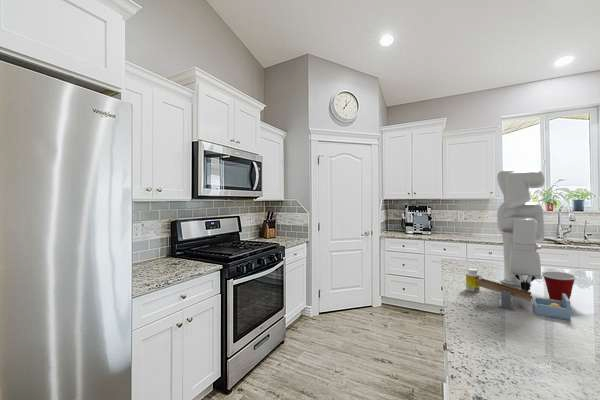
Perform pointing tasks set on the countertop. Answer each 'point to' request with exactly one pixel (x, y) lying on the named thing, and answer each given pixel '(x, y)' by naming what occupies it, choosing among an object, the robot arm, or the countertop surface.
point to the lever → (498, 287)
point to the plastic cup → (558, 284)
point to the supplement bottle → (472, 280)
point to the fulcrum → (506, 300)
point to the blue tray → (552, 308)
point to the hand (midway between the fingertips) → (525, 291)
